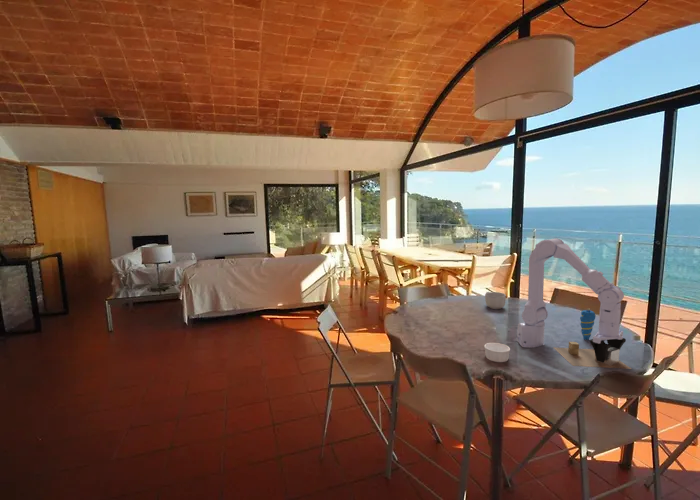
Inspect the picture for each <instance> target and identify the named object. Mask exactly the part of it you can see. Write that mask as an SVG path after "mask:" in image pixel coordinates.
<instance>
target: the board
mask: <svg viewBox="0 0 700 500" xmlns="http://www.w3.org/2000/svg"><path fill="white" fill-rule="evenodd" d="M553 349H554V350H555V351H556V352H557V353H559V355H561V356H562V357H563V358H564V359H565V360H566V361H567V363H569V364H570V365H571V366H572V367H584V368H585V367H587V368H588V367H591V368H607V369H608V368H609V369H624V370H625V369H626V370H627V369H628V370H632V368H631V367H630V366H628V365H627V364H625V363H624V362H622V361H621V360H620V359H619V363H617V364H614V365H611V366H609V365H607V364H604V363H601V362H598V361H595V351H594V348H580V344H579V343H578V342H576V341H568V347H553Z"/></svg>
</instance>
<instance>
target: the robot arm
mask: <svg viewBox="0 0 700 500" xmlns="http://www.w3.org/2000/svg"><path fill="white" fill-rule="evenodd" d="M552 257H553V258H555V259H561V260H564V261H565V262H567V264H569V265H570V266H571V267H572V268H573V269H575V271H577V272H578V273H579V275H581V281H582V282H583V283H584V284H585V285H587V287H588V288H589V289H591V290H592V292H593V293H595V295H597V299H598V301H599V302H600V307H599V317H598V331H597V332H596V334H595V335H593V336H592V339H591V338H590V340H589V343H590V345H591V346H592V349H594V351H595V355H596V359H597V361H600V362H604V361H605V358H606V353H607V351H608V349H609V347H610V346H612V347H615V348H618V349H620V350H621V348H623V347H622V346H623V345H624V344H625V343H626V338H624V330H621V329H620V323H621V312H622V310H621V307H622V304H621V303H622V301H623V299H624V296H625V294H624V291H623V290H622V289H621V288H620V287H619V286H616V285H615V284H614V283H613V282H610V281H609V280H608V279H607V278H606V277H605V276H603V275H604V273H603V272H602V271H598V270H597V269H591V268H589V266H588V265H587V264H586V263H585V262H584V261H583V260H582V259H581V258H580V257H579V256H578V255H577V254H576V253H575V252H574V251H573V250H572V249H571V247H570V246H569V245H568V244H567V243H565V242H564V241H563V239H561V238H559V237H558V238H557V237H556V238H551V239H543V240H541V241H539V242H538V243H536V244H535V248H533V250H532V252H531V253H530V255H529V258H528V259H529V260H528V285H527V286H528V289H527V290H528V293H527V295H528V296H527V297H528V298H527V301H526V303H525V304H524V308H523V311H522V314H521V317H522V321H523V322H519V323H517V327H516V328H517V331H516V335H517V336H516V342H517V343H518V344H519V346H521V348H530V349H531V348H532V349H533V348H536V347H540V346H544V345H545V343H544V342H545V320H546V319H547V318H548V316H549V313H548V310H547V307H546V306H547V305H546V303H545V301H544V286H545V285H544V281H545V280H544V279H545V262H547V260H549V259H550V258H552ZM605 341H606V342H607V343H606V342H605Z"/></svg>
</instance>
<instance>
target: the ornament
mask: <svg viewBox="0 0 700 500" xmlns="http://www.w3.org/2000/svg"><path fill="white" fill-rule="evenodd" d="M580 314H581V315H580V317H579V320H580V329H581V331H580V332H581V334H582V338H583V340H586V341H589V339H591V337H592V336H591V335H592V331H593V326H594V324H595V319H596V317H597V316H596V313H595V312H594V311H592V310H591V308H587V309H584V310H582V311H581V313H580Z"/></svg>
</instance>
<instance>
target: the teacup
mask: <svg viewBox="0 0 700 500" xmlns="http://www.w3.org/2000/svg"><path fill="white" fill-rule="evenodd" d="M484 296H485V297H484V298H485V300H484V301H485V305H486V306H487V307H488V308H489V309H493V310H501V309H503V308H504V307H505V305H506V301H507V300H506V298H507V297H506V296H507V295H506V294H505V293H503V292H498V291H486V292H485V293H484Z"/></svg>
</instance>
